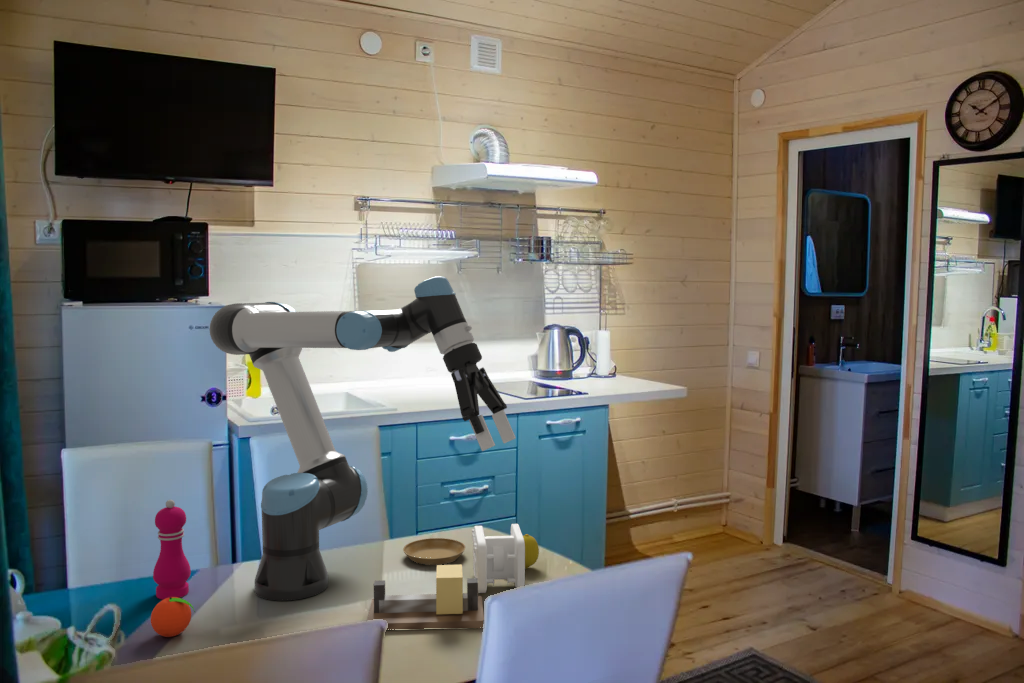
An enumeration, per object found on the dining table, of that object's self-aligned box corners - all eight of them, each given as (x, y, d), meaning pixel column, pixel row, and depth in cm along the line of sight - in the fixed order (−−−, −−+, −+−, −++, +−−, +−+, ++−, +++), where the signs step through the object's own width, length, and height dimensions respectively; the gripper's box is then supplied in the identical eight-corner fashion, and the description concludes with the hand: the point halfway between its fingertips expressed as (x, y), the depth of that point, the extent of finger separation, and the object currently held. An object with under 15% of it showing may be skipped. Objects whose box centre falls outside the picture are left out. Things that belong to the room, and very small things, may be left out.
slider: (436, 614, 152) (436, 578, 151) (436, 599, 159) (436, 565, 158) (462, 613, 152) (462, 577, 152) (461, 599, 159) (462, 564, 159)
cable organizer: (525, 597, 165) (526, 542, 165) (475, 599, 164) (475, 543, 163) (518, 571, 180) (518, 521, 179) (471, 573, 179) (471, 522, 178)
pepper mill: (147, 594, 166) (145, 499, 164) (181, 584, 171) (179, 493, 170) (162, 603, 161) (160, 506, 159) (197, 593, 166) (195, 499, 165)
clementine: (203, 627, 150) (203, 590, 149) (187, 644, 143) (186, 605, 143) (162, 626, 150) (161, 589, 150) (143, 643, 143) (142, 604, 143)
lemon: (543, 567, 183) (543, 533, 182) (530, 574, 178) (530, 539, 178) (522, 562, 186) (522, 529, 185) (509, 569, 181) (509, 535, 181)
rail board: (366, 631, 148) (365, 595, 148) (372, 605, 160) (371, 571, 160) (484, 628, 150) (484, 592, 150) (481, 602, 162) (481, 569, 162)
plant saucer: (427, 574, 179) (427, 562, 179) (390, 557, 190) (390, 546, 189) (478, 559, 189) (478, 548, 189) (440, 544, 200) (440, 534, 199)
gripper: (451, 340, 150) (496, 443, 147) (493, 341, 174) (532, 431, 171) (418, 356, 152) (461, 459, 149) (464, 356, 176) (502, 444, 173)
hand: (499, 444), depth 160 cm, fingers open, 13 cm apart
